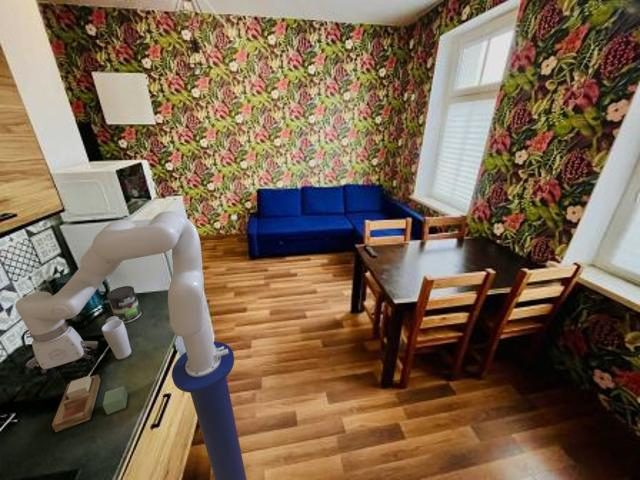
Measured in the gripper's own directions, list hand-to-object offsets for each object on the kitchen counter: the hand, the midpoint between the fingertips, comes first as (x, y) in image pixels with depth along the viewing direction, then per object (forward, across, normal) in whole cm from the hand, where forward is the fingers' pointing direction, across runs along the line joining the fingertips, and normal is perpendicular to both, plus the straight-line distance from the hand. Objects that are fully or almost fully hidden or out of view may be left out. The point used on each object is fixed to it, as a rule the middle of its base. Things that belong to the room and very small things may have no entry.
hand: (73, 371), depth 86 cm
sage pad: (+11, +10, -10) cm, 18 cm away
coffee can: (+11, +8, +42) cm, 44 cm away
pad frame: (+11, -1, -4) cm, 11 cm away
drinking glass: (+11, +9, +14) cm, 20 cm away
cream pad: (+10, -1, 0) cm, 10 cm away
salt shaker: (+11, +7, +22) cm, 26 cm away
